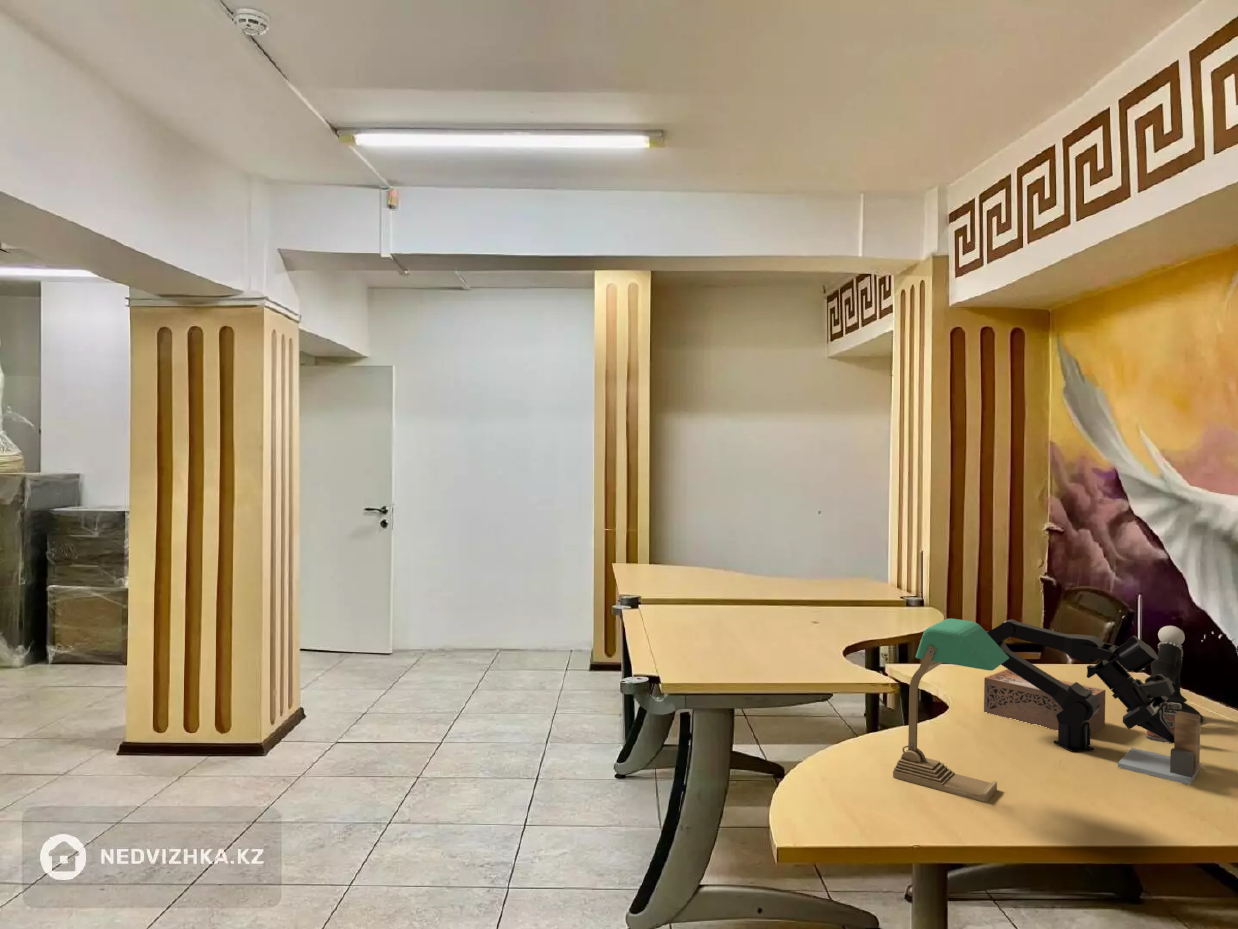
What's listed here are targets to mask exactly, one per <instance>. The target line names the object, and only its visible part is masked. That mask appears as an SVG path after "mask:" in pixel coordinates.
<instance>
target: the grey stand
mask: <svg viewBox="0 0 1238 929" xmlns="http://www.w3.org/2000/svg"><path fill="white" fill-rule="evenodd" d="M1200 759H1201V758H1200ZM1200 759H1199V769H1198V771H1197V772H1196V774H1194V753H1192V752H1188V751H1184V750H1179V749H1175V748H1174V747H1172V748H1171V749H1170V755H1168V754H1167V755H1165V754H1161V753H1156V752H1154V751H1149V750H1145V749H1144V750H1143V749H1140V748H1136V747H1131V748H1129V750H1128V752H1126V753H1125V754H1124V756H1123V757H1122V758H1121V759H1120V760H1119V761H1118V763H1117V768H1119V767H1120V769H1124V770H1128V771H1132V772H1136V773H1138V774H1139V773H1140V774H1144V775H1148V776H1151V777H1155V778H1160V779H1164V780H1168V779H1169V780H1168V781H1173V782H1176V783H1180V784H1185V785H1188V786H1191V784H1192V783H1193V781H1194V779H1195V778H1196V777H1197V775H1198V773H1199V771H1200V770H1201V768H1202V763H1201V762H1200Z"/></svg>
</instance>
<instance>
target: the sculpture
mask: <svg viewBox="0 0 1238 929" xmlns="http://www.w3.org/2000/svg"><path fill="white" fill-rule="evenodd" d="M1157 636H1158V639H1159V641H1160V642H1159V643H1158V644H1157V649H1158V653H1157V656H1158V660H1156V661H1155V662H1153V663H1151V664H1150V670H1151V674H1150V676H1148V677H1147V678H1145V679H1144V683H1147V682H1150V681H1153V677H1154V676H1155V675H1158V674H1162V675H1163V676H1165V677H1166V678H1169V679H1170V681H1172V682H1173V683H1172V686H1173V688H1174V690H1175V692H1173V694H1172V695H1170V696H1166V697H1167V698H1168V700H1167V701H1166V702H1167V703H1170V702H1172V703H1179V704H1181V705H1182V709H1176V711H1177V712H1179V711H1181V712H1186V713H1191V714H1197V715H1200V724H1202V723H1203V722H1204V717H1203V715H1202V714H1201V712H1199V711H1198V710H1197V709H1196V708H1194V707H1193V706H1191V705H1190V704H1188V703H1187V702H1188V699H1187V698H1185V696H1184V695H1182V694H1181V670H1182V666H1183V664H1182V663H1183V657H1184V650H1183V645H1182V644H1183V643H1184V641H1185V639H1186V637H1185V633H1184V631H1183V630H1182V629H1181V628H1179V627H1177V626H1174V625H1165V626H1163V627H1161V628H1160V629H1159V631H1158V633H1157ZM1157 707H1159V706H1157ZM1169 710H1171V711H1172V708H1169Z"/></svg>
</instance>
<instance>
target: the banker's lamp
mask: <svg viewBox="0 0 1238 929" xmlns="http://www.w3.org/2000/svg"><path fill="white" fill-rule="evenodd" d="M986 631H987V630H985V629H984V628H983V627H982V626H981V625H980V624H979V623H977V622H975V621H971V620H965V619H959V618H958V619H957V618H946V619H944V620H941V621H940V622H938V623H934V624H933V625H931V626H929V627H927V628H926V629H924V631H923V634H922V636H921V639H920V642H919V645H918V649H917V652H916V654H915V658H916V659H918V660H922V661H921V662H920V666H919V667H918V668H917V670H915V672H914V673H913V675H912V677H911V679H910V682H909V692H908V694H909V695H908V737H907V738H908V740H907V741H908V742H907V743H908V745H905V746H903V747H902V753H901V756H900V758H899V759H898V761H896V764H895V767H894V768H893V771H892V778H893V777H894V778H893V779H898V780H900V779H903V780H902V781H904V780H906V781H905V782H908V783H912V784H916V785H920V786H923V785H924V787H927V788H930V787H931V789H935V790H937V789H938V791H942V792H945V791H946V792H945V793H949V792H950V793H949V794H952V795H957V796H959V797H964V798H967V797H968V798H967V799H971V800H975V801H979V802H983V803H987V802H988V801H989V800H990V799H991V798H992V796H994V794H995V793H996V792H997V791H998V781H996V780H993V781H985V780H981V779H978V778H974V777H970V776H967V775H966V776H965V775H961V774H957V773H955V771H952V768H948V766H947V765H945V763H944V762H941V761H940V760H938V759H934V758H933V759H932V758H929V757H926V756H925V754H924V752H923V751H922V750H921V749H920V748H918V720H919V719H918V714H919V712H918V711H919V708H918V706H919V704H918V703H919V686H920V682H921V680H922V678H923V677H924V675H926V674H927V673H928V672H931V671H932V670H933V669H935V668H936V667H938V666H940V665H942V664H949V665H955V666H960V667H966V668H973V669H976V670H984V671H994V670H996V669H997V668H998V667H999V666H1002V665H1001V664H1002V663H1004V662H1005V661H1006V660H1008V659H1009V657H1008V656H1007V655H1006V654H1005V652H1004V651H1003V650H1002V649H1001V648H1000V647H999V646H998V645H997V644H996V642H995V641H994V640H993V639H992V638H991V637H990V636H989V635H988V634H987V632H986ZM907 748H908V749H907ZM905 749H907V750H906V751H905Z"/></svg>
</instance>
